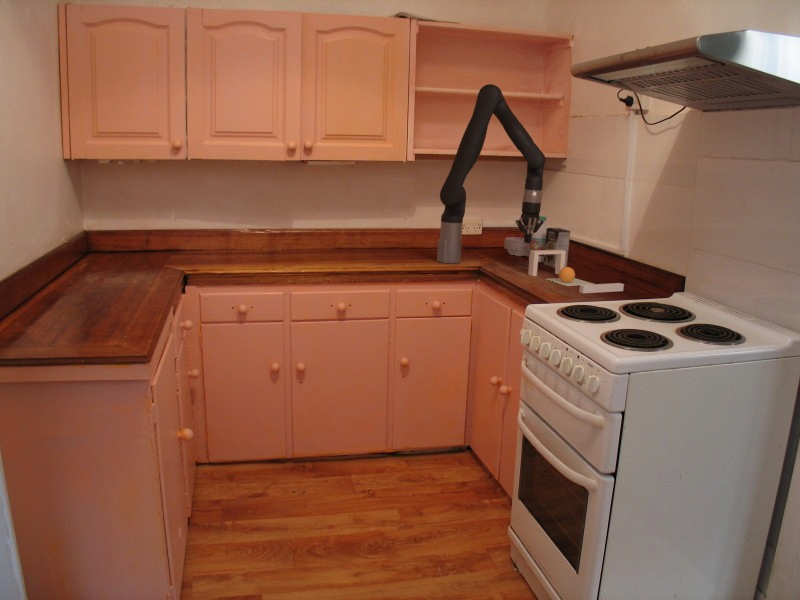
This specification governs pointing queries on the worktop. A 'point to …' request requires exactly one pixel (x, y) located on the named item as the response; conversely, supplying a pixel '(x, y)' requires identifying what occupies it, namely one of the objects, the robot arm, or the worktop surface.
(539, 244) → the milk bottle
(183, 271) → the worktop surface
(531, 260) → the bridge
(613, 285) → the stopper strip
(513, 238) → the paper bowls
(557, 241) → the coffee box
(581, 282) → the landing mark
